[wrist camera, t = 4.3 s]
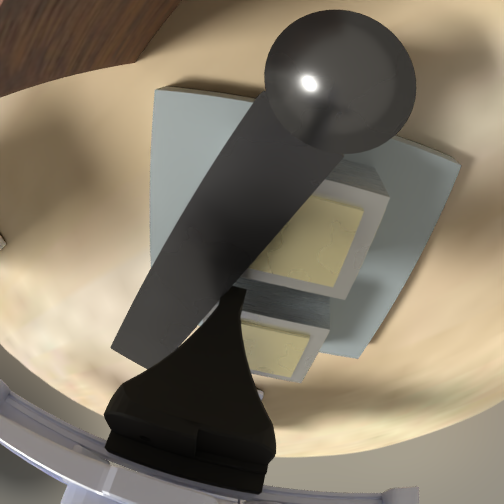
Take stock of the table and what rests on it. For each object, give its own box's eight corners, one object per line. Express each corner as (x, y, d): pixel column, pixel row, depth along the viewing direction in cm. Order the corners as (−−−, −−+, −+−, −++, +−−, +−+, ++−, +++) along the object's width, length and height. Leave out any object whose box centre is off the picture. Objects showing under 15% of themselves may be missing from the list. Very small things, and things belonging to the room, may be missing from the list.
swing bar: (168, 360, 17) (157, 388, 16) (112, 328, 17) (97, 355, 15) (417, 73, 7) (443, 79, 6) (319, -4, 7) (321, -18, 5)
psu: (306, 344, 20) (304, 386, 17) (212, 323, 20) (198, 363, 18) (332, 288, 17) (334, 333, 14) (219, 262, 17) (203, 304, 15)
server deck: (357, 345, 21) (360, 415, 17) (159, 300, 22) (127, 364, 17) (476, 80, 10) (547, 104, 6) (177, 3, 11) (110, -13, 6)
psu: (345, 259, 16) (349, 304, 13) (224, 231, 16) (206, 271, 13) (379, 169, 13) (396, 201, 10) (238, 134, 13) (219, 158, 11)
